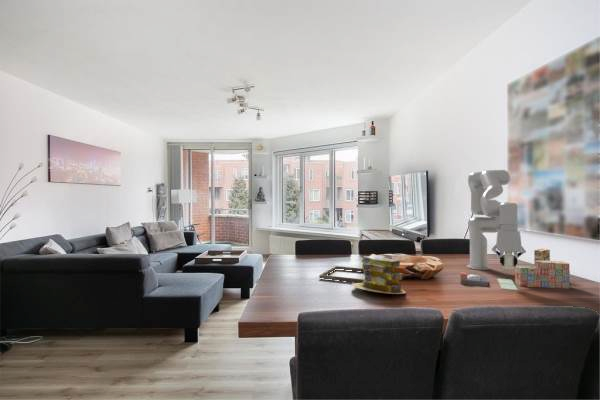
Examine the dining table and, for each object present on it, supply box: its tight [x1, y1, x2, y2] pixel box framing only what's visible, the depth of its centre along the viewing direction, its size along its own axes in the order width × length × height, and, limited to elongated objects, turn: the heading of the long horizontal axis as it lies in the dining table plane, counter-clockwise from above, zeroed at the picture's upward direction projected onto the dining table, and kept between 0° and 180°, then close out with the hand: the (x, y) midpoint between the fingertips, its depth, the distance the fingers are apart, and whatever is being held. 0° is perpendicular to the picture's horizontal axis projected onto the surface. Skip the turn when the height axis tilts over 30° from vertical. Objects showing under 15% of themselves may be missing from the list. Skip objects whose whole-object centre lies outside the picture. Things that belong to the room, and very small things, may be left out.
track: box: [497, 278, 519, 292], centre depth 166 cm, size 21×6×1 cm, turn 154°
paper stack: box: [350, 253, 407, 295], centre depth 155 cm, size 25×25×17 cm
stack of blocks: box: [514, 260, 571, 289], centre depth 164 cm, size 21×6×12 cm, turn 78°
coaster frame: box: [318, 265, 365, 283], centre depth 185 cm, size 26×26×2 cm
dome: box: [467, 274, 481, 280], centre depth 171 cm, size 6×6×3 cm
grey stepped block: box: [460, 271, 489, 287], centre depth 171 cm, size 12×12×6 cm
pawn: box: [502, 251, 515, 270], centre depth 161 cm, size 5×5×9 cm
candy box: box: [533, 248, 551, 265], centre depth 179 cm, size 9×4×15 cm, turn 121°
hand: (508, 265), depth 161 cm, fingers closed on pawn, 4 cm apart
